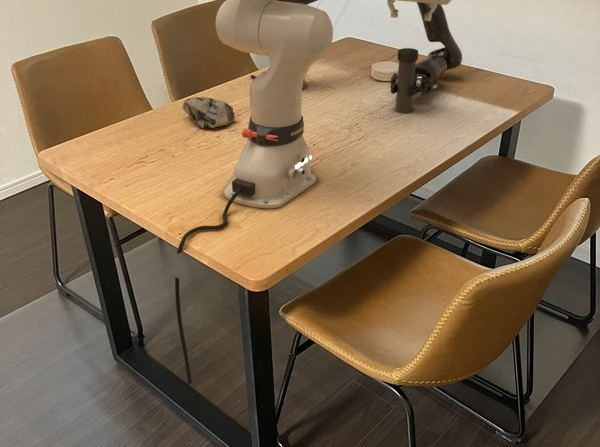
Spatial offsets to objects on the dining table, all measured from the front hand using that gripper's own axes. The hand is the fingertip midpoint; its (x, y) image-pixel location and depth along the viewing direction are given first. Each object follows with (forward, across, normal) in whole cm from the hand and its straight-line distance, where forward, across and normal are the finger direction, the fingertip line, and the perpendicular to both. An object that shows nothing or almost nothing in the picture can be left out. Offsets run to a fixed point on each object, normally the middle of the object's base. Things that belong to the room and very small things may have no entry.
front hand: (410, 18), depth 163 cm
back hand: (+19, 0, -3) cm, 19 cm away
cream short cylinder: (+25, -14, +24) cm, 38 cm away
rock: (+25, -47, -29) cm, 61 cm away
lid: (+9, 0, 0) cm, 9 cm away
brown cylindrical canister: (+25, 0, 0) cm, 25 cm away
